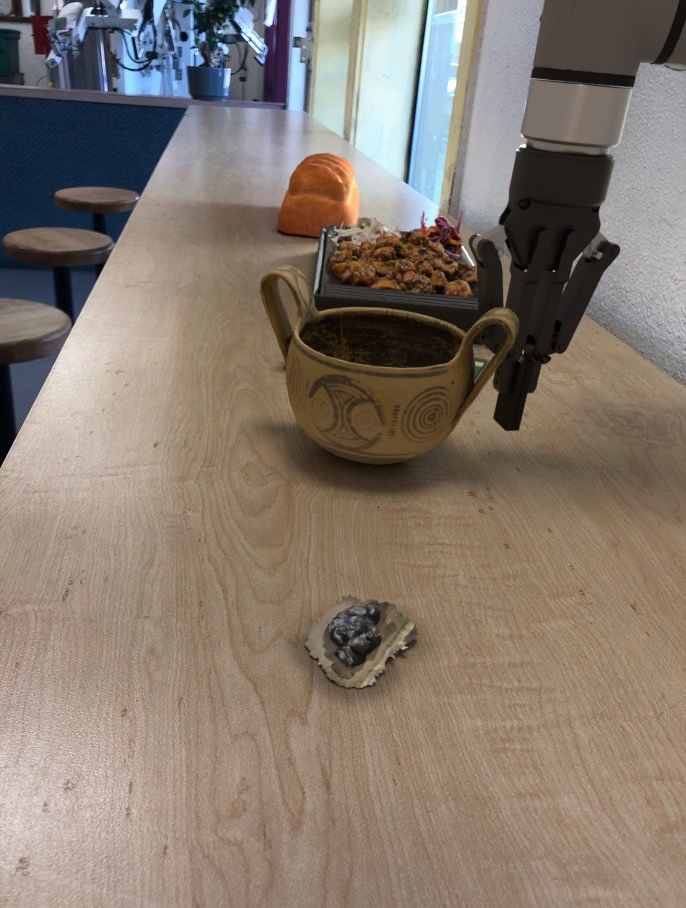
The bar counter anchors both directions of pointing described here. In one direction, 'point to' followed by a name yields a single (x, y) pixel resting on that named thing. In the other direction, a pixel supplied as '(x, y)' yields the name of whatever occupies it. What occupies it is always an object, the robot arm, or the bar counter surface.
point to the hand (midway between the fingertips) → (505, 424)
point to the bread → (319, 196)
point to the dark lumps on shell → (358, 639)
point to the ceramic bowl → (376, 372)
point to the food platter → (397, 270)
